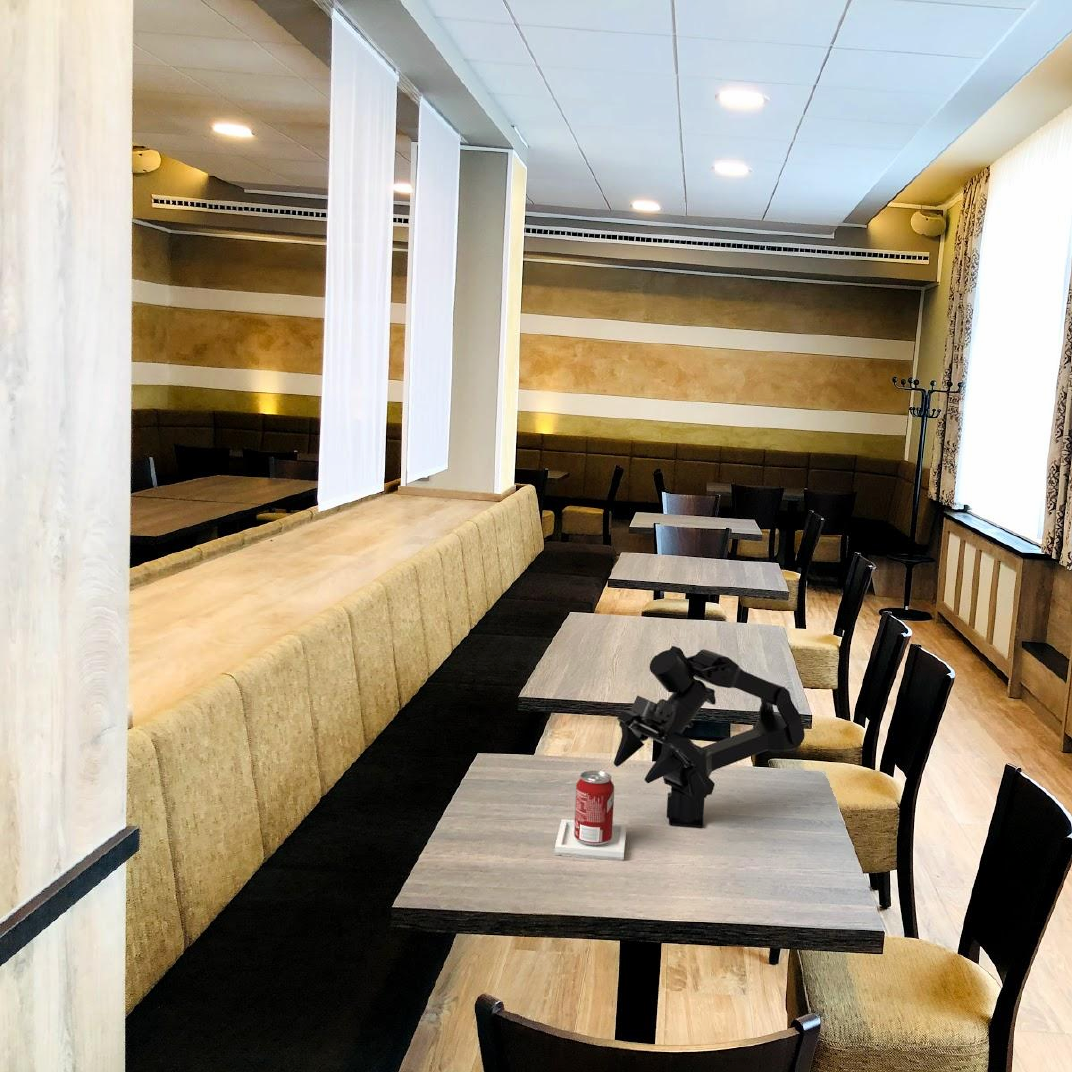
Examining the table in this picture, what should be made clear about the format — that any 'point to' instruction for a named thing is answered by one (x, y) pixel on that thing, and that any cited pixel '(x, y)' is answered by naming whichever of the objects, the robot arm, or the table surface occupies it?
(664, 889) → the table surface
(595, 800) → the soda can
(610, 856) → the tray
